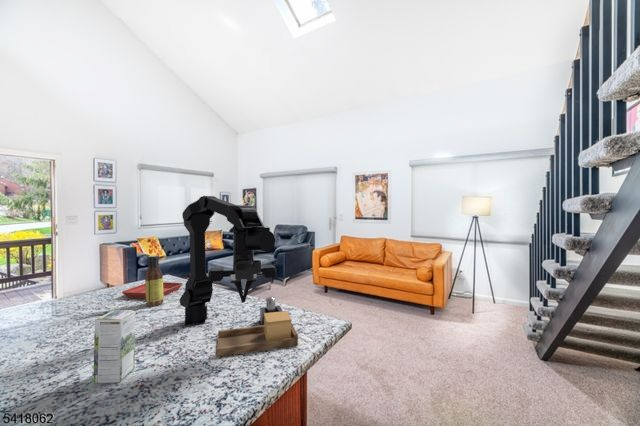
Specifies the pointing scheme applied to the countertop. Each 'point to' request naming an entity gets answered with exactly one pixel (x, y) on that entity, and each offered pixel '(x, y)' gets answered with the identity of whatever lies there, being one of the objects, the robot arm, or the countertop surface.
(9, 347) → the countertop surface
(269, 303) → the rounded metal peg
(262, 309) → the square hollow tube
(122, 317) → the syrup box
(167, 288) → the plant saucer
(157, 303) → the sauce bottle
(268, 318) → the tan cardboard box
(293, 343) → the bay
